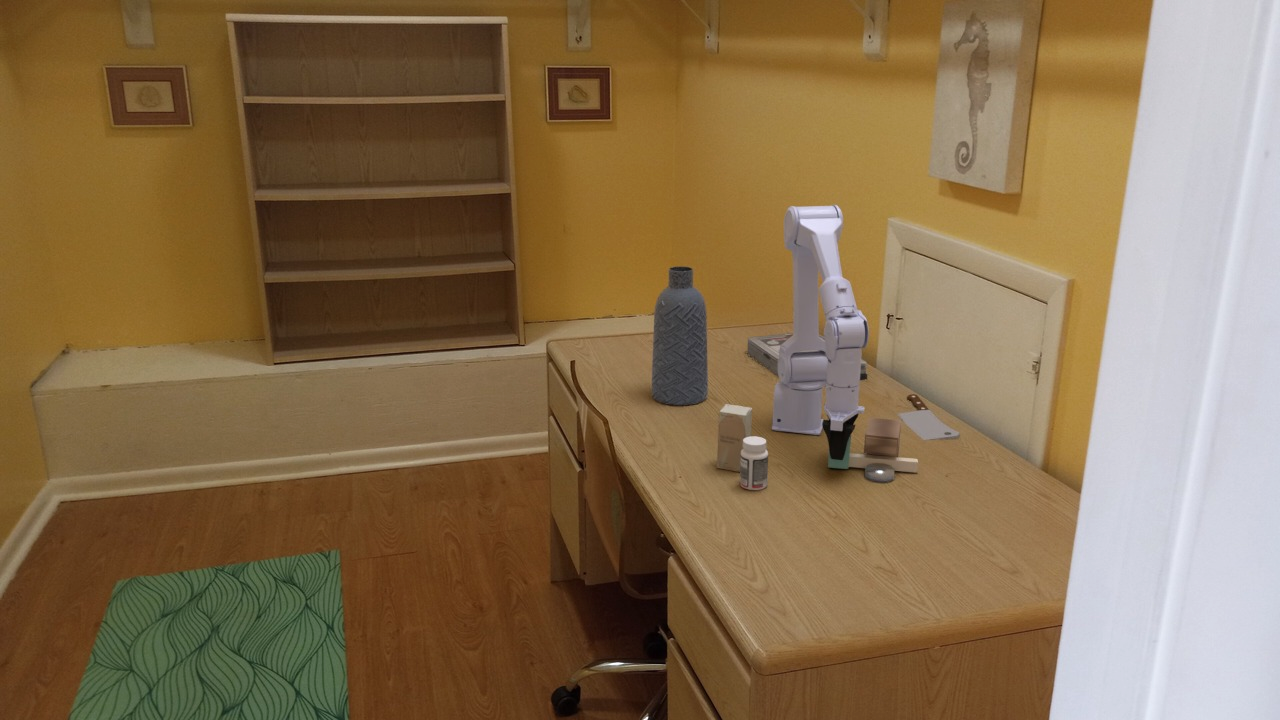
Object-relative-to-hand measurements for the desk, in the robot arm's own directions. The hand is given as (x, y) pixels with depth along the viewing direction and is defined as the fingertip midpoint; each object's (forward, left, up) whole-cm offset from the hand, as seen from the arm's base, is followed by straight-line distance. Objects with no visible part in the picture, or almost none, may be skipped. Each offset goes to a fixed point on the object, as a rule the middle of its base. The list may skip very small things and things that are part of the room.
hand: (838, 454), depth 180 cm
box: (-18, -5, -3) cm, 19 cm away
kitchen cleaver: (+13, +30, -3) cm, 33 cm away
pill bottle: (-13, -12, -3) cm, 18 cm away
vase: (-37, +28, -3) cm, 46 cm away
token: (+7, -2, -2) cm, 8 cm away
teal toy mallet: (+6, +1, -2) cm, 6 cm away
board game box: (-15, +58, -3) cm, 60 cm away
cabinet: (+7, +4, -2) cm, 9 cm away
